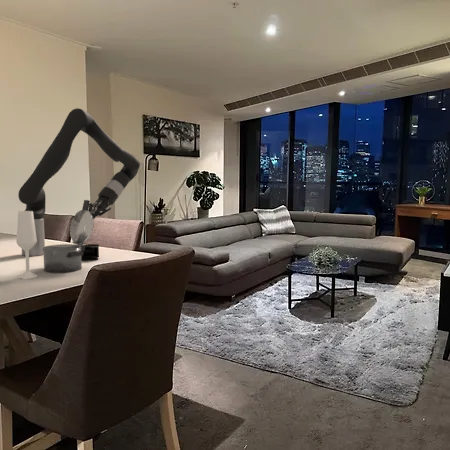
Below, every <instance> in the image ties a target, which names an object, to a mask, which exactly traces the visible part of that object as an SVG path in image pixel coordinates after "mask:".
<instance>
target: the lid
mask: <svg viewBox="0 0 450 450" xmlns="http://www.w3.org/2000/svg"><path fill="white" fill-rule="evenodd" d="M90 203H91V200H89V199H83V204H82V210H79V211H77V212H76V213H75V214H74V216H73V217H72V219H71V222H70V226H69V235H70V238H71V241H72V244H74V245H76V244H78V245H85V244H84V243H86V242H87V241H88V240H89V239H90V237H91V235H92V233H93V231H94V225H95V221H94V220H95V219H93V216H92V214H91V213H90V212H89V211H88V210H89V204H90Z"/></svg>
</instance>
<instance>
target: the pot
mask: <svg viewBox="0 0 450 450" xmlns="http://www.w3.org/2000/svg"><path fill="white" fill-rule="evenodd" d="M85 245H86V244H83V245H78V244H73V243H72V244H70V243H65V244H64V243H63V244H53V245H45V247H44V248H43V251H44V254H43V271H44V272H46V273H50V274H64V273H65V274H66V273H73V272H77V271H81V270H82V268H83V266H82V264H83V263H82V262H83V261H82V257H81V255H83V251H85Z"/></svg>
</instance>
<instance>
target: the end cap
mask: <svg viewBox="0 0 450 450" xmlns="http://www.w3.org/2000/svg"><path fill="white" fill-rule="evenodd" d="M84 245H85V251H83V255H81V257H82V262H91V261H99V257H100V253H99V252H100V251H99V250H100V249H99V246H100V245H99V243H96V244H95V243H93V244H91V243H90V244H84Z"/></svg>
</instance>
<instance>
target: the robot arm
mask: <svg viewBox="0 0 450 450" xmlns="http://www.w3.org/2000/svg"><path fill="white" fill-rule="evenodd" d="M80 132H83V133H85V134H86V135H87V136H89V137H90V138H91V139H93V140H94V142H96V144H97V145H98V146H99V148H100V149H101V150H102V151H103V152H104V154H106V155H107V156H108V158H110V159H111V160H112V161H114V162H115V163H121V164H122V165H123V166H122V168H121V169H120V171H118V172H116V173H115V174H114V175H113V176H112V177H111V179H110V180H109V181H108V182H107V183H105V185H104V186H103V188H102V189H101V190H100V191H99V193H98V195H97V197H98V198H97V199H96V200H95V201H94V203H92V202H90V203H89V208H88V211H89V212H90V213H91V214H92V216H93V219H94V220H95V219H96V218H97V217H101V216H102V215H104V214H106V213H108V212H109V211H111V210H112V207H111V206H113V205H114V204H115V202H116V201H117V200H118V199H119V197H120V196H121V194H122V193H123V192H124V190H125V188H126V187H127V186H128V185H129V183H130V182H131V181H132V180H133V179H134V178H135V177H136V176H137V174H138V172H139V170H140V167H141V161H139V159H138V158H137V157H136V156H135V155H134V154H132V153H130V152H129V151H127V150H125V149H124V148H123V147H122V146H121V145H119V143H117V141H115V139H113V138H112V137H111V136H110V135H108V134H107V132H105V131H104V130H103V128H102V127H100V125H99V124H98V123H97V122H96V120H95V119H94V118H93V116H92V115H91V114H90V112H88V111H86V110H84V109H82V108H78V107H77V108H74V109H72V110H71V111H70V112H69V113H68V115H67V116H66V118H65V120H64V122H63V124H62V126H61V128H60V130H59V132H58V133H57V134H56V136H55V138H54V139H53V141H52V142H51V144H50V145H49V146H48V148H47V150H46V151H45V153H44V154H43V156H42V157H41V159H40V161H39V162H38V164H37V165H36V167H35V169H34V170H33V172H32V173H31V174H30V176H29V177H28V178H27V179H26V181H25V182H24V183H23V185H22V186H21V187H20V189H19V191H18V199H19V201H20V202H21V203H22V204H24V205H25V209H24V211H33V216H34V224H35V231H36V238H37V242H36V244H35V246H34V247H33V248H32V249H30V250H29V257H31V256H34V257H36V256H42V255H43V256H44V251H43V248H44V247H46V243H45V240H46V239H45V213H46V202H47V201H46V191H45V189H44V186H45V185H46V184H47V183H48V181H50V179H51V178H52V177H54V176H55V175H56V174H57V173H58V172H59V171H60V170H61V169H62V168H63V166H64V164H65V163H66V162H67V160H68V158H69V156H70V155H71V151H72V150H71V149H72V145H73V142H74V140H75V138H76V137H77V136H78V134H79V133H80ZM21 255H22V256H25V250H23V249H22V248H21Z"/></svg>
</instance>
